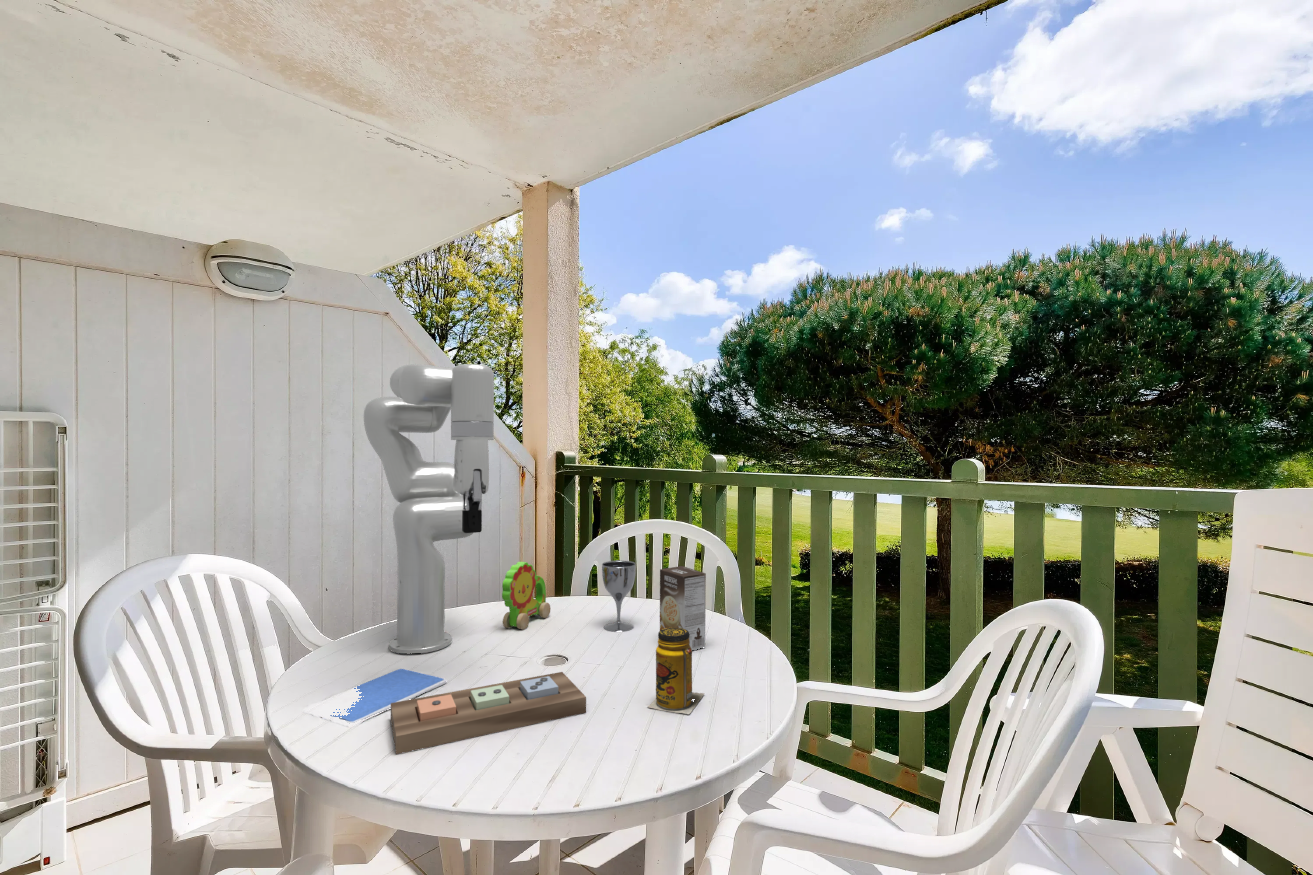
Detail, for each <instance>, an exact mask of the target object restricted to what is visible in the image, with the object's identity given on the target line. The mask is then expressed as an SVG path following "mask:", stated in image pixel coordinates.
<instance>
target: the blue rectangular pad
mask: <svg viewBox="0 0 1313 875" xmlns="http://www.w3.org/2000/svg"><path fill="white" fill-rule="evenodd" d="M446 683H447V680H446V679H445V678H442V677H439V676H435V675H430V674H425V673H421V672H418V671H413V670H410V669H405V668H399V669H396V670H392V671H391V672H388V673H386V674H383V675H381V676H378V677H375V678H374V679H371V680H369V681H366V682H364V683H363V682H362V683H361V684H359V685H360V686H358V685H356V686H357V689H360V690H358V691H359V692H362V693H361V694H359V696H362V697H361V698H358V699H360V700H359V702H357V701H356V702H355V703H356V704H355V705H354V704H352V705H351V706H355V707H351V708H350V709H349V708H348V709H347V711H348V710H349V711H348V712H347V711H346V712H347V713H350V714H348V715H347V716H346V715H344V716H343V715H342V716H340V714H339V715H338V716H336V715H335V716H334V715H333V716H332V715H330V716H331V717H339V719H340V720H345V721H346V722H347V723H349V724H350V723H355V722H357V721H359V720H363V719H366V718H368V717H370V716H372V715H375V714H377V713H380V712H382V711H385V710H387V709H389V708H391V703H394V702H400V701H405V700H409V699H412V698H413V699H415V698H417V697H419V696H422V695H423V693H424V694H426V693H428V692H430V691H432V690H434V689H437V688H439V687H441V686H444V685H445V684H446ZM354 689H356V688H354ZM358 691H356V692H358ZM425 692H426V693H425ZM421 694H422V695H421ZM363 696H364V697H363ZM416 696H417V697H416ZM414 697H415V698H414ZM361 699H362V700H361ZM353 703H354V702H353ZM336 710H337V709H336ZM339 710H340V709H339ZM344 710H345V709H344ZM351 710H352V711H351ZM389 710H390V709H389ZM387 711H388V710H387ZM385 712H386V711H385ZM333 713H335V712H333ZM337 713H339V712H337ZM340 713H341V712H340ZM340 717H342V718H340Z"/></svg>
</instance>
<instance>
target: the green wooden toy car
mask: <svg viewBox="0 0 1313 875" xmlns="http://www.w3.org/2000/svg"><path fill="white" fill-rule="evenodd" d="M501 586H502V587H501V589H502V591H501V592H502V593H501V598H502V600H503V601H504V605H505V607H507V608H508V609H509V611H506V613H505V614H504V615H503V618H502V626H503V627H504V628H506V629H511V628H513V627H516V628H517V629H519V630H526V629H527V628H528V627H529V624H530V618H529V617H532V618H533V617H535V616H540V618H543V619H547V618H549V616H550V614H551V610H552V609H551V604H550V603H549V602H547V601H546V600H547V588H546V583H545V580H544V578H543V577H542V576H540V575H537V573H536V570H535V569H534V566H533V565H532V564H529V563H528V562H526V561H517V562H516V564H512V565H511V566H510V569H509V570H507V571H506V573H505V576H504V579H503V581H502V585H501ZM534 591H535V598H534V596H533V594H534Z"/></svg>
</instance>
